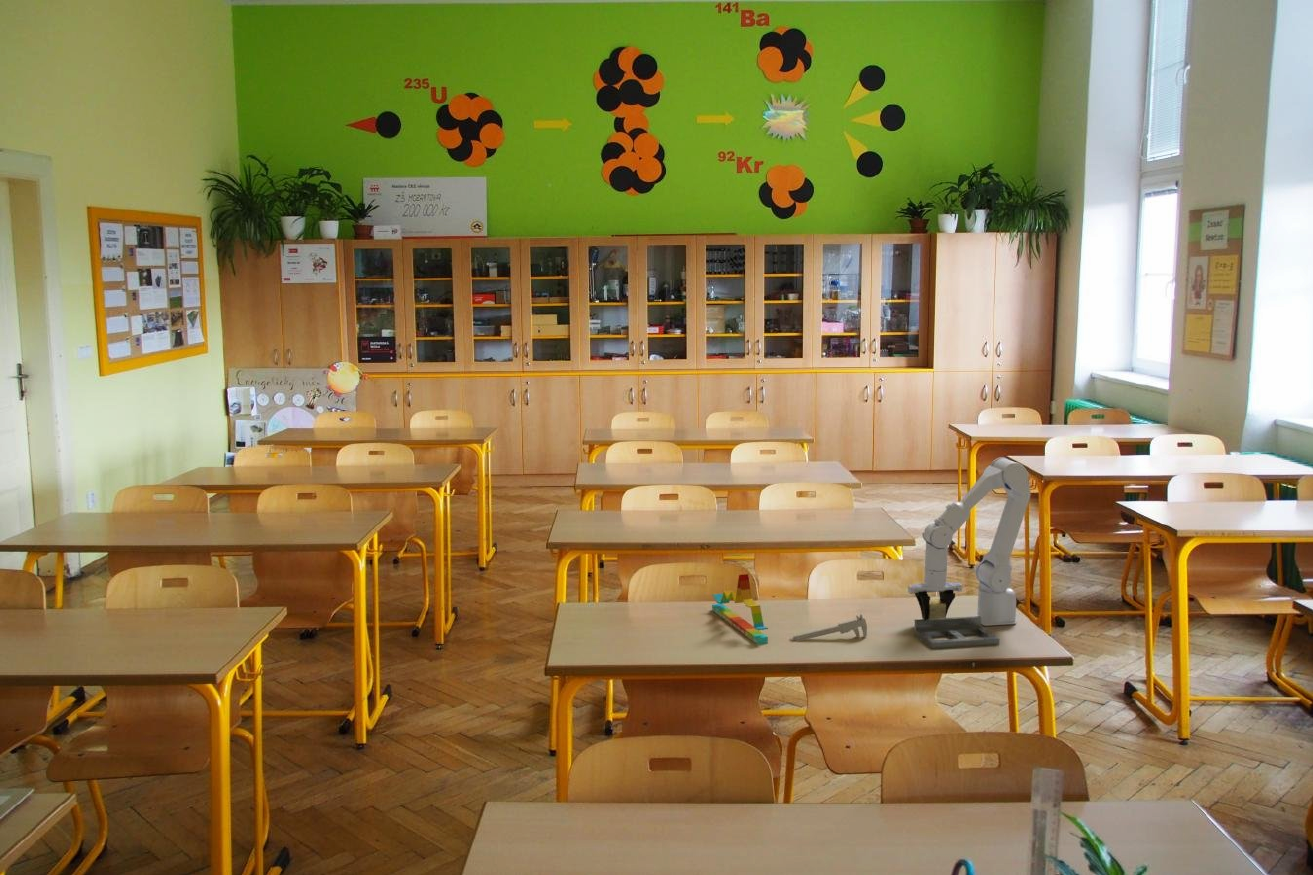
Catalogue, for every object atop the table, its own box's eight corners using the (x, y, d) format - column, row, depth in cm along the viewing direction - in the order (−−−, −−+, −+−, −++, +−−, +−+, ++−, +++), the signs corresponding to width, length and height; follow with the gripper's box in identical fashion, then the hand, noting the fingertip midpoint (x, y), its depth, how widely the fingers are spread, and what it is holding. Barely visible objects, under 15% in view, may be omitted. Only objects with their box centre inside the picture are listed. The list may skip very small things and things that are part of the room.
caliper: (867, 635, 284) (863, 613, 283) (868, 636, 283) (864, 614, 282) (791, 654, 281) (787, 632, 280) (792, 655, 280) (788, 633, 279)
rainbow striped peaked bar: (711, 611, 305) (711, 558, 303) (721, 609, 307) (722, 557, 304) (756, 645, 277) (757, 587, 275) (767, 644, 278) (768, 586, 276)
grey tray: (978, 630, 288) (979, 616, 287) (999, 644, 277) (999, 629, 277) (914, 634, 285) (914, 619, 284) (932, 648, 274) (932, 633, 273)
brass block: (937, 620, 297) (938, 598, 296) (945, 625, 292) (946, 603, 291) (922, 621, 296) (923, 599, 295) (929, 626, 292) (930, 604, 291)
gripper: (954, 563, 297) (952, 612, 299) (904, 566, 295) (902, 615, 297) (966, 570, 290) (964, 620, 292) (914, 573, 288) (912, 623, 290)
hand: (933, 618), depth 294 cm, fingers closed on brass block, 4 cm apart
